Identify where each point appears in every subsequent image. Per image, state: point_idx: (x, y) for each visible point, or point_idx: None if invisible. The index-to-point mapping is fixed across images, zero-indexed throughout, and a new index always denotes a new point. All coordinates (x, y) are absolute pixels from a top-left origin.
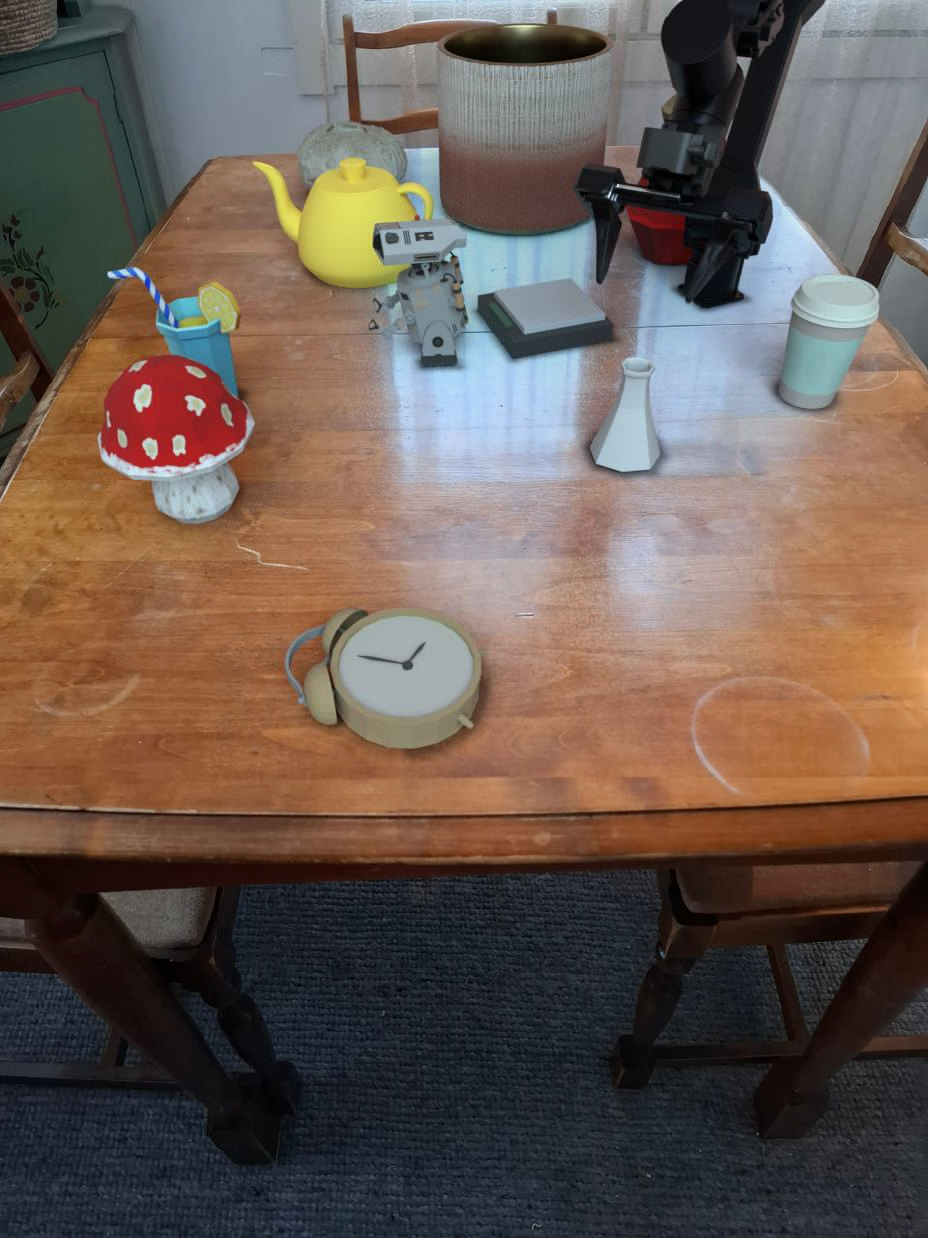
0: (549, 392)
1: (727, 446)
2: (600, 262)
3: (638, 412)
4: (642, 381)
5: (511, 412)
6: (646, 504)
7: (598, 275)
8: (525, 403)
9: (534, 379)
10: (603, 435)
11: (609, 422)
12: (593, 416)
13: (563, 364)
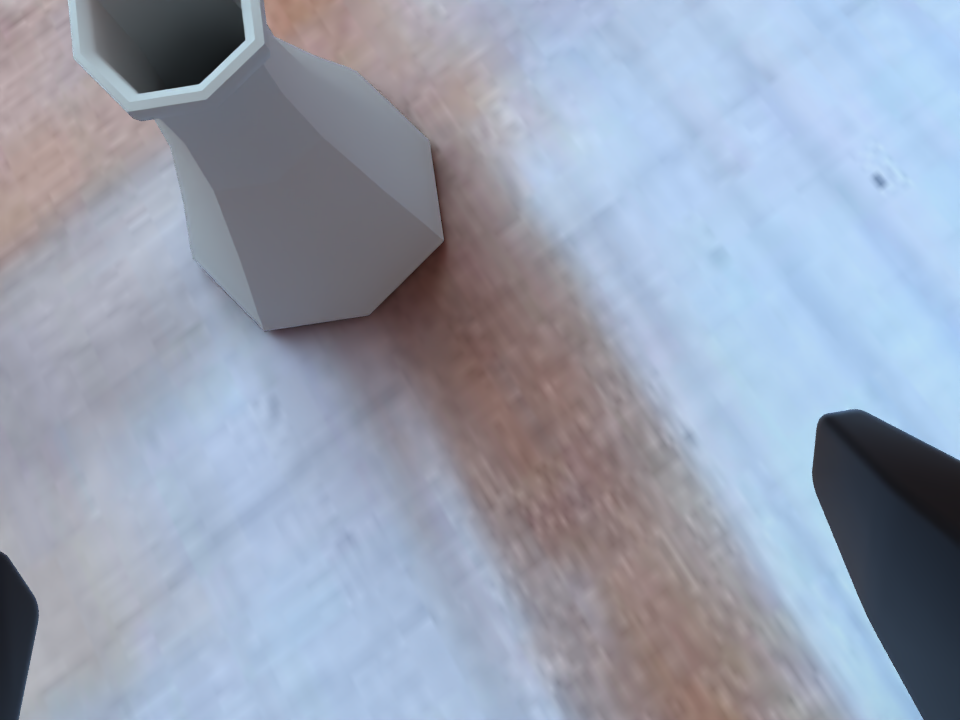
0: (786, 384)
1: (19, 474)
2: (949, 492)
3: (188, 74)
4: (132, 8)
5: (816, 169)
6: None
7: (863, 424)
8: (813, 255)
9: None
10: (349, 80)
11: (327, 71)
12: (538, 341)
13: None
